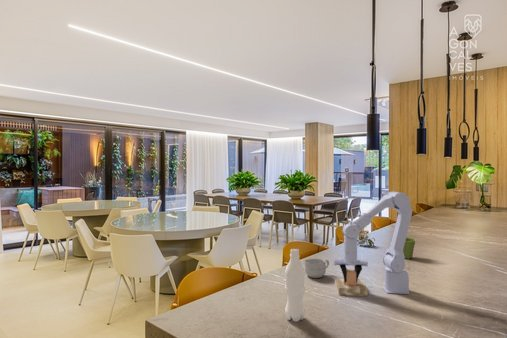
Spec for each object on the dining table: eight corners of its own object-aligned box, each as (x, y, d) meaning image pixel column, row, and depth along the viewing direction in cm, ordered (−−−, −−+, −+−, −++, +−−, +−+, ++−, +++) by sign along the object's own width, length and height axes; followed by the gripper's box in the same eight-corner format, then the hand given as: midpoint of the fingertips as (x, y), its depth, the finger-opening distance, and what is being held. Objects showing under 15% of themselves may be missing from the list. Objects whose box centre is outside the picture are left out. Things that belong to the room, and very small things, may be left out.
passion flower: (360, 253, 224) (350, 238, 228) (369, 248, 231) (359, 234, 235) (371, 247, 216) (360, 232, 220) (379, 242, 222) (369, 227, 227)
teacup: (309, 280, 155) (309, 264, 155) (300, 273, 165) (300, 258, 165) (335, 278, 159) (335, 262, 159) (325, 271, 169) (325, 256, 169)
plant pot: (411, 255, 200) (411, 237, 200) (419, 260, 188) (419, 241, 188) (392, 254, 201) (392, 236, 201) (398, 260, 190) (398, 241, 190)
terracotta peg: (354, 287, 144) (354, 269, 144) (356, 290, 140) (356, 272, 140) (345, 286, 144) (345, 269, 144) (346, 290, 140) (346, 272, 140)
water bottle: (302, 313, 119) (302, 247, 119) (306, 323, 112) (306, 252, 112) (283, 314, 119) (283, 247, 119) (286, 323, 112) (286, 252, 112)
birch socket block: (361, 285, 148) (361, 279, 148) (367, 296, 136) (367, 289, 136) (335, 284, 149) (335, 278, 149) (338, 294, 137) (338, 287, 137)
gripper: (335, 253, 139) (335, 284, 139) (369, 254, 138) (369, 285, 138) (333, 249, 146) (333, 278, 146) (365, 249, 145) (365, 279, 145)
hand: (350, 281), depth 143 cm, fingers closed on terracotta peg, 4 cm apart
